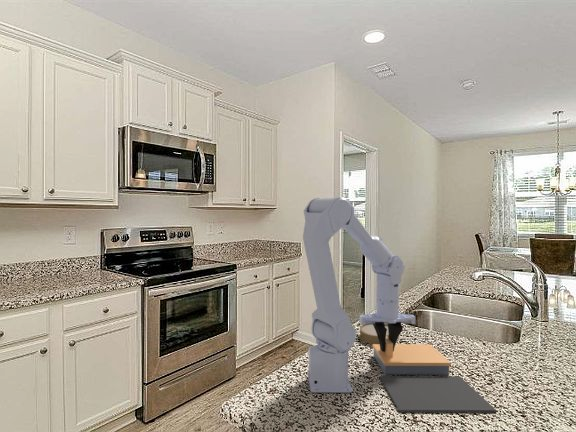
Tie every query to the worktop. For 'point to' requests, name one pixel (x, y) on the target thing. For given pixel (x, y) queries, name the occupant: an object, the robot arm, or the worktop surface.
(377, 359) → the blue-grey tray
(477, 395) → the mat
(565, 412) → the worktop surface
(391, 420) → the worktop surface
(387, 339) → the lid
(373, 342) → the alarm clock
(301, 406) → the worktop surface
